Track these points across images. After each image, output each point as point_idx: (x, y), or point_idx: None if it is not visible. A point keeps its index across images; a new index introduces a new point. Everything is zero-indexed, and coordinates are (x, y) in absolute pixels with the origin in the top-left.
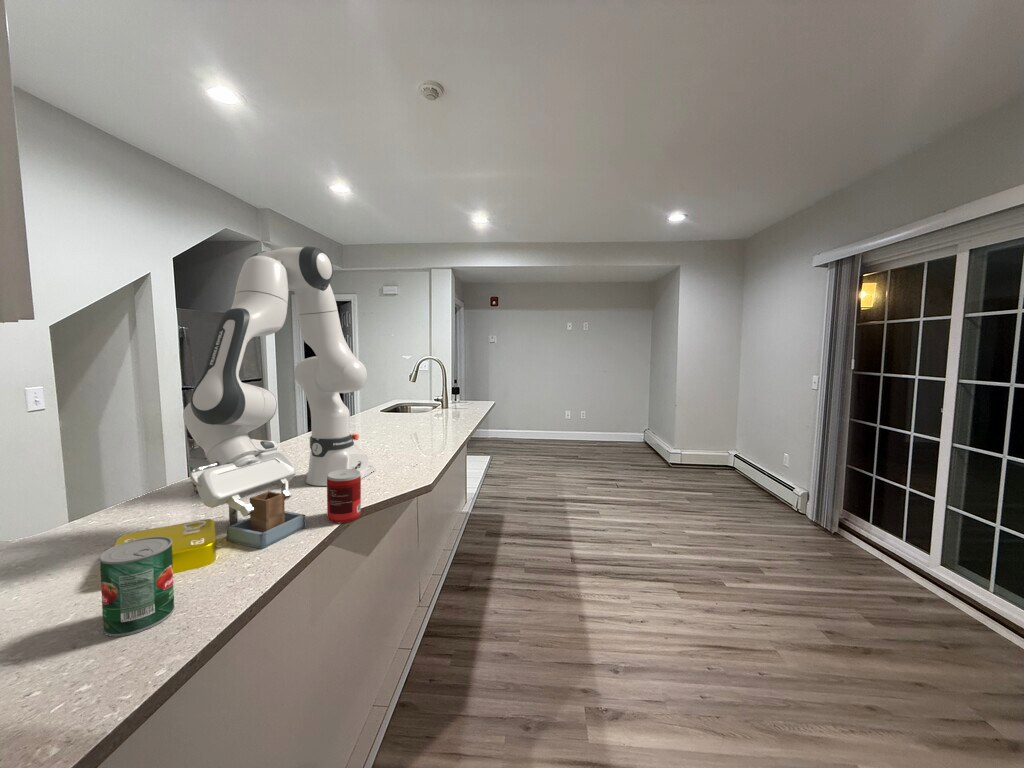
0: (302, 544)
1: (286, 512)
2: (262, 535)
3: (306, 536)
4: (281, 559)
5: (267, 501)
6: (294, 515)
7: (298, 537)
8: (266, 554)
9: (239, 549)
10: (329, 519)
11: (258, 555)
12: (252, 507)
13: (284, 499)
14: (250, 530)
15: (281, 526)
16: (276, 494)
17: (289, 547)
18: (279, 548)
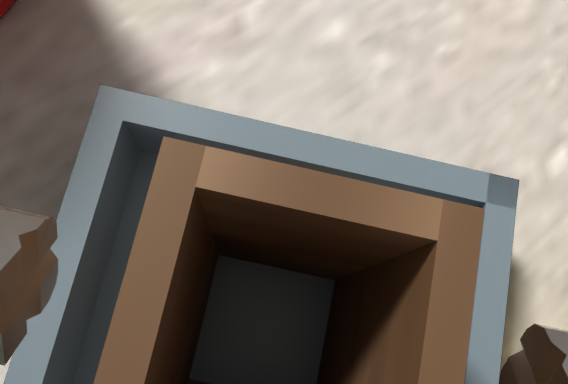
0: (362, 13)
1: (58, 287)
2: (513, 182)
3: (258, 47)
4: (539, 26)
5: (450, 208)
6: (107, 181)
7: (279, 87)
8: (515, 139)
9: (506, 353)
10: (2, 7)
11: (536, 176)
12: (561, 346)
13: (52, 258)
14: (474, 333)
15: (345, 143)
16: (177, 261)
17: (411, 63)
18: (435, 112)
